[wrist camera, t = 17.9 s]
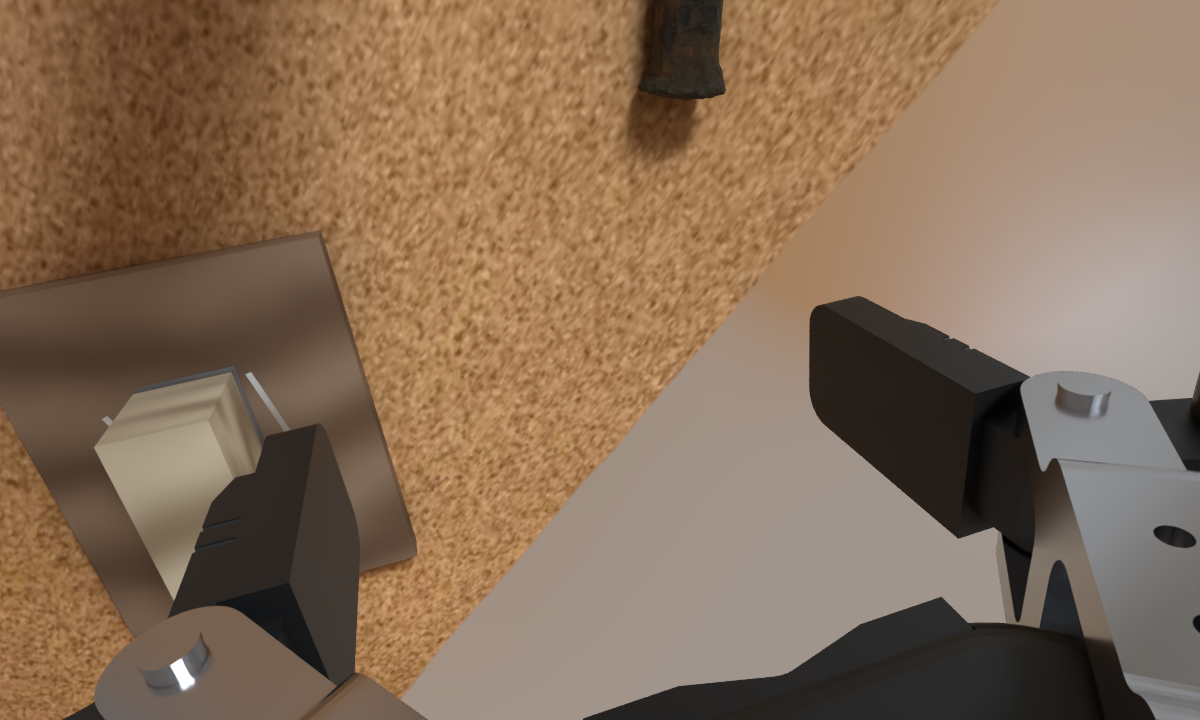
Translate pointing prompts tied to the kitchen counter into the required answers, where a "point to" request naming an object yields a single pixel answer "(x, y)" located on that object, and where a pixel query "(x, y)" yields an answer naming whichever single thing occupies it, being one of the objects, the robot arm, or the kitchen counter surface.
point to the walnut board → (183, 348)
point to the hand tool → (685, 50)
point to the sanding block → (179, 459)
